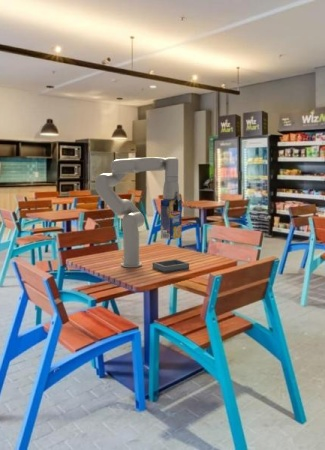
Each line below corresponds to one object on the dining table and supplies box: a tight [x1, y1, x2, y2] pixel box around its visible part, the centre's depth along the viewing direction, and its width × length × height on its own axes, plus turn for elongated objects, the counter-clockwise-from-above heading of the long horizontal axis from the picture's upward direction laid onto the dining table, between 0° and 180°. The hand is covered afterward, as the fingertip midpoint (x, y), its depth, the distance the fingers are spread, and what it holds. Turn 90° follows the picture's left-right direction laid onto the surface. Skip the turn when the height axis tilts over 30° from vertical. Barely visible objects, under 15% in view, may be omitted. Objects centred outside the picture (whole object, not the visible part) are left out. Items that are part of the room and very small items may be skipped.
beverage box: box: [160, 199, 183, 240], centre depth 242 cm, size 7×11×22 cm, turn 143°
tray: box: [152, 259, 190, 274], centre depth 246 cm, size 13×17×4 cm
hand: (171, 210), depth 242 cm, fingers closed on beverage box, 7 cm apart
